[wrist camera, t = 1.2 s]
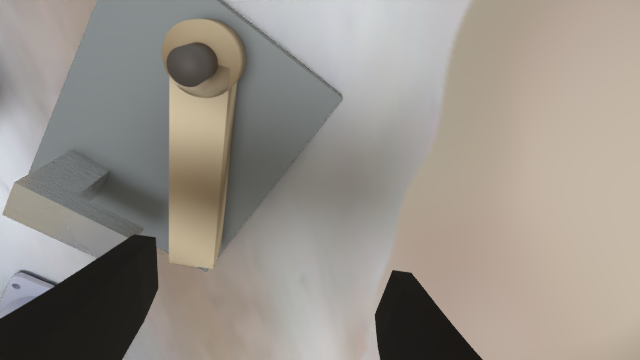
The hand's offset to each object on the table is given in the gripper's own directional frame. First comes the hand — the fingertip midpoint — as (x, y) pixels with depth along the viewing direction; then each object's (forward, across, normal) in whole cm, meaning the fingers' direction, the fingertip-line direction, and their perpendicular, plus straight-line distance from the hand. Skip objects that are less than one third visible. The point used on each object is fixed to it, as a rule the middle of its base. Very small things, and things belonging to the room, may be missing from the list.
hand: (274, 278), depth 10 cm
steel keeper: (+8, +9, +3) cm, 13 cm away
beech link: (+8, +4, 0) cm, 9 cm away
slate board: (+9, +6, 0) cm, 11 cm away
